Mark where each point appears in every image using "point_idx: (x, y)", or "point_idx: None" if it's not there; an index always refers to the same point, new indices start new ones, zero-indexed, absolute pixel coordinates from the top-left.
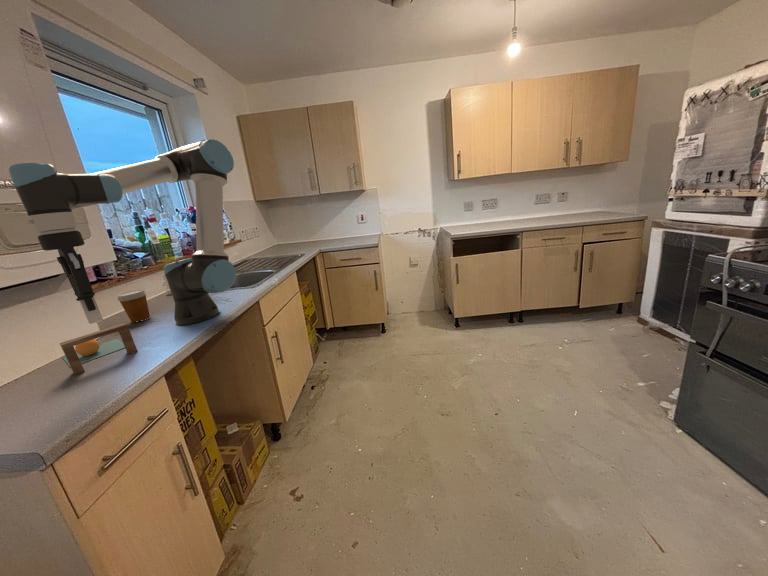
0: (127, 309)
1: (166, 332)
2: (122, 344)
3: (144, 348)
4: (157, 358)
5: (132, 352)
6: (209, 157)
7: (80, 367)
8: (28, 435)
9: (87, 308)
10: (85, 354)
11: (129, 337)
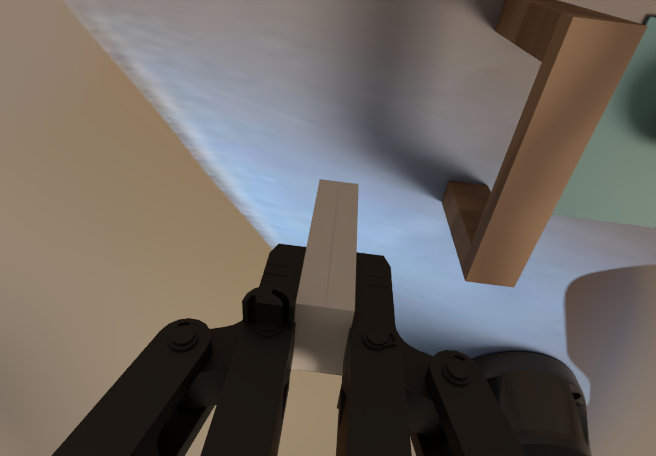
0: None
1: (505, 310)
2: (607, 215)
3: (441, 222)
4: (279, 195)
5: (446, 190)
6: None
7: (504, 27)
8: None
9: (298, 260)
10: None
11: (456, 233)
